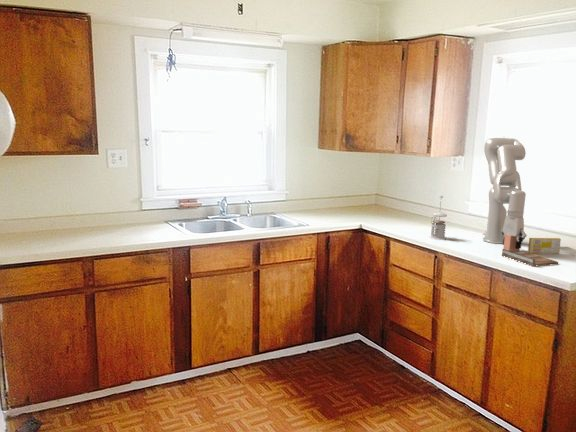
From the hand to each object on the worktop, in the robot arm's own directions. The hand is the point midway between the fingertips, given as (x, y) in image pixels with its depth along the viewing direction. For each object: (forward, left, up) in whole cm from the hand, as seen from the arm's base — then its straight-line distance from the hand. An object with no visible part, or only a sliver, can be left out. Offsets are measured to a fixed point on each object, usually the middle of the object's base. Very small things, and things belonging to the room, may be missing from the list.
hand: (511, 246), depth 267 cm
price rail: (+17, -12, -1) cm, 21 cm away
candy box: (+8, +14, -3) cm, 16 cm away
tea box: (0, 0, -3) cm, 3 cm away
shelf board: (+17, -5, -2) cm, 18 cm away
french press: (-37, -20, -3) cm, 42 cm away
